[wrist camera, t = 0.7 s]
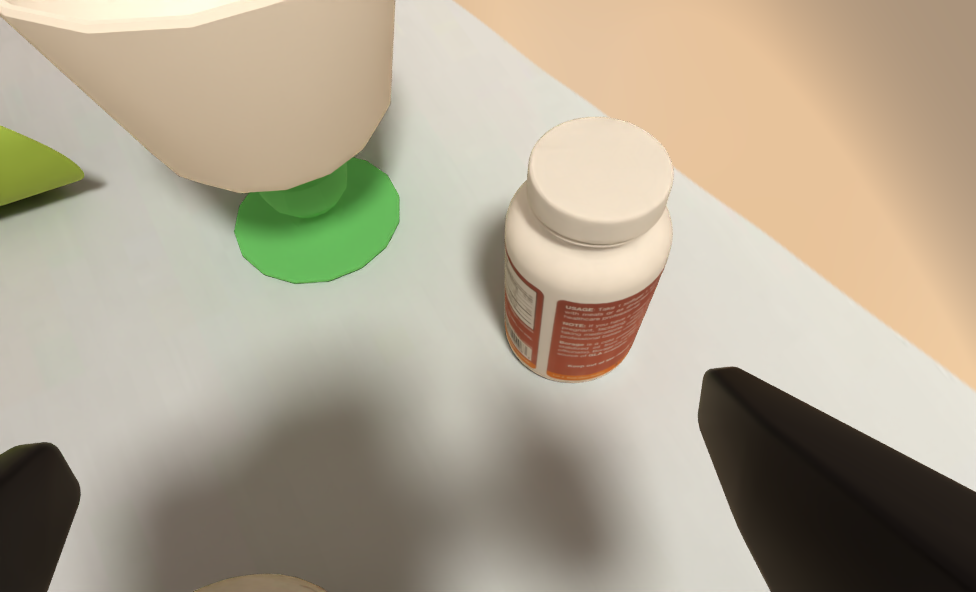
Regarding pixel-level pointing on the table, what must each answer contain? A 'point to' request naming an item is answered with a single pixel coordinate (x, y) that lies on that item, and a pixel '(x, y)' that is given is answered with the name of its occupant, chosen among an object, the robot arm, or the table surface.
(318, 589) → the decorative object
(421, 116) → the table surface
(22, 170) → the green curved piece
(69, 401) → the table surface
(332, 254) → the cup
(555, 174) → the pill bottle
